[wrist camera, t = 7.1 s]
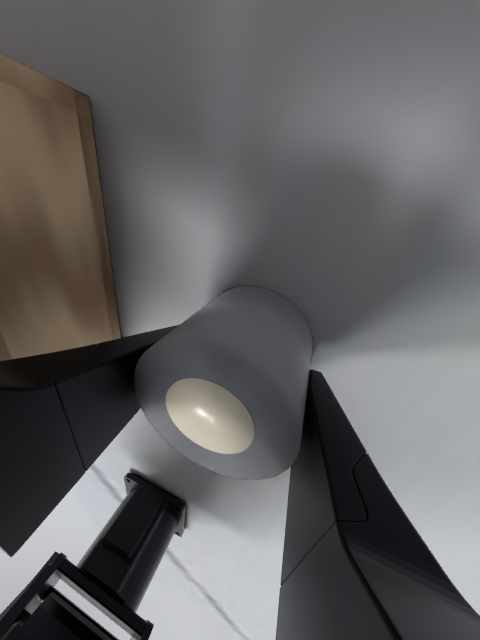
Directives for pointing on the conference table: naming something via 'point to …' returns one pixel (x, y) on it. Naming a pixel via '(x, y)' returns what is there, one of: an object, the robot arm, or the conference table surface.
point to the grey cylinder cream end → (231, 384)
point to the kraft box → (51, 219)
